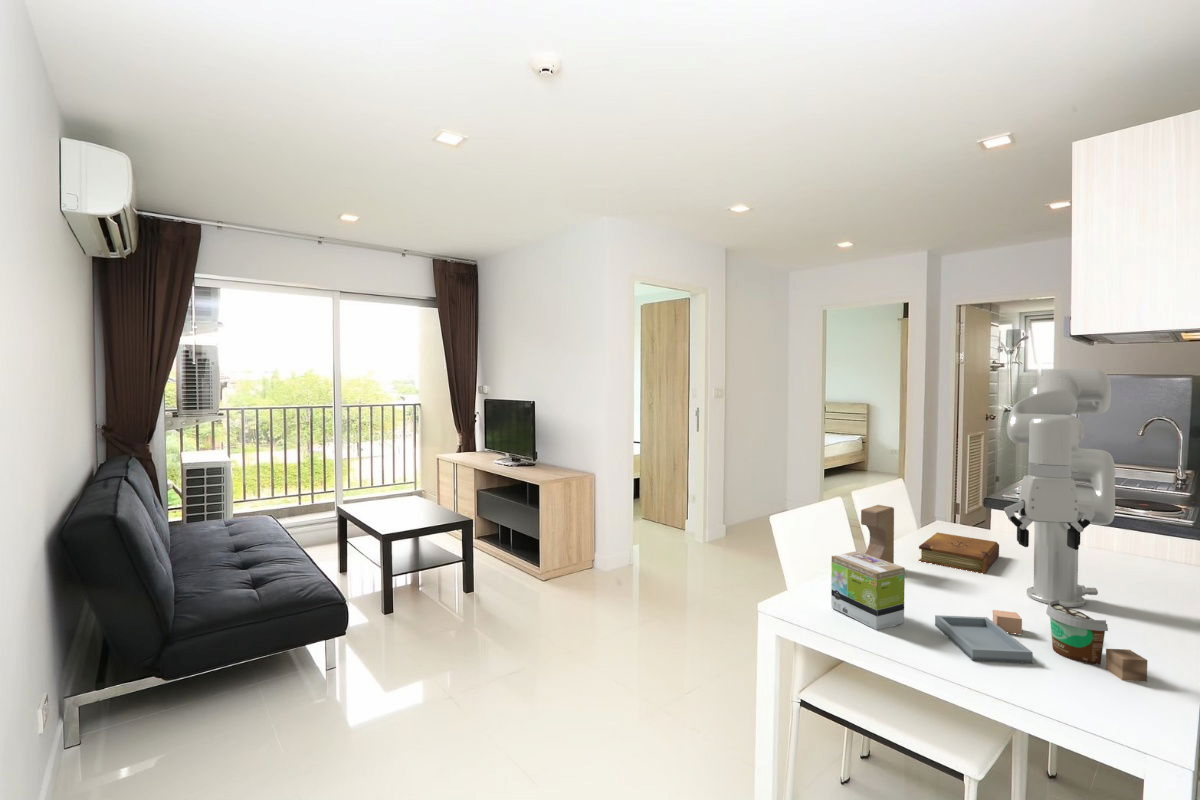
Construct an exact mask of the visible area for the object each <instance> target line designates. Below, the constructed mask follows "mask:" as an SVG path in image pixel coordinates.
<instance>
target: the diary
mask: <svg viewBox="0 0 1200 800" xmlns="http://www.w3.org/2000/svg"><path fill="white" fill-rule="evenodd" d="M918 550H921V551H920V552H921V554H920V555H921V558H920V559H918V562H919V561H921V562H920V563H924V562H926V563H925V564H929V563H932V564H931V565H935V564H936V566H940V565H941V566H940V567H945V568H950V567H951V569H955V568H956V570H960V569H961V570H962V571H966V570H967V572H971V571H972V572H971V573H976V572H978V573H977V574H981V573H983V574H982V575H984V574H986V572H987V571H988V570H989V569H990V567H991V566H993V564H994V562H995V561H996V560H997V559H998V558H999V557H1000V544H999V543H998V542H997V541H994V540H989V539H988V540H986V539H981V538H974V537H969V536H961V535H955V534H950V533H943V532H936V533H934V534H933V535H932V536H931V537H930V538H928V539H927V540H925V541H924V542H923V543H921V544H920V545H918Z"/></svg>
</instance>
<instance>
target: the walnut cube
mask: <svg viewBox="0 0 1200 800" xmlns="http://www.w3.org/2000/svg"><path fill="white" fill-rule="evenodd" d="M1105 670H1106V671H1107V672H1109V673H1110V674H1112V675H1113V676H1115V677H1117V678H1118V679H1120V680H1121V681H1126V682H1127V681H1129V682H1146V683H1147V682H1148V659H1146V658H1145V657H1143V656H1141V655H1140V654H1139V653H1136V652H1135V651H1133V650H1131V649H1125V648H1123V649H1120V648H1105Z"/></svg>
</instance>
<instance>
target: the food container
mask: <svg viewBox="0 0 1200 800" xmlns="http://www.w3.org/2000/svg"><path fill="white" fill-rule="evenodd" d="M1045 613H1046V615H1047V616H1048V617H1049V621H1050V632H1051V633H1050V634H1051V644H1052V645H1051V646H1052V649H1053V652H1055V653H1056V654H1057V655H1058V656H1061V657H1063V658H1065V659H1067V660H1068V659H1069V660H1072V661H1074V662H1076V663H1077V662H1078V663H1083V664H1087V665H1089V664H1090V665H1101V663H1102V657H1103V649H1104V643H1105V634H1106V632H1109V628H1108V624H1107V620H1105V619H1100V620H1099V619H1093V618H1092V617H1090V616H1089V615H1086V614H1085V613H1083V612H1081V611H1080V610H1076V609H1071V608H1070V607H1065V606H1062V605H1060V604H1059V600H1054V601H1051V602H1050V603H1049V604H1047V606H1046V611H1045Z"/></svg>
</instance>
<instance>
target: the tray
mask: <svg viewBox="0 0 1200 800" xmlns="http://www.w3.org/2000/svg"><path fill="white" fill-rule="evenodd" d="M934 617H935V618H934V623H935V624H934V626H935V627H936V628H937V629H939V630H940V631H941V633H942V634H944V635H945V636H946V637H947V639H948V640H949V641H951V642H952V643H953V644H954V645H955V646H956V647H957V648H958V649H959V650H960V651H962V652H963V653H964V654H965V655H966V656H967V657H968V658H969V659H970V660H971V661H972V662H987V663H988V662H991V663H992V662H993V663H1011V664H1033V654H1034V653H1033V651H1031V650H1030V649H1029V648H1028V647H1027V646H1025V645H1023V644H1022V643H1021V642H1020V641H1019V640H1017V639H1016V638H1015V637H1014V636H1012V635H1011V634H1009V633H1007V632H1006V631H1004V630H1003V629H1002V628H1000V627H999V626H998V625H996V624H995V623H994V622H993V620H992V619H990V618H989V617H987V616H983V617H982V616H960V615H934Z"/></svg>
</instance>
